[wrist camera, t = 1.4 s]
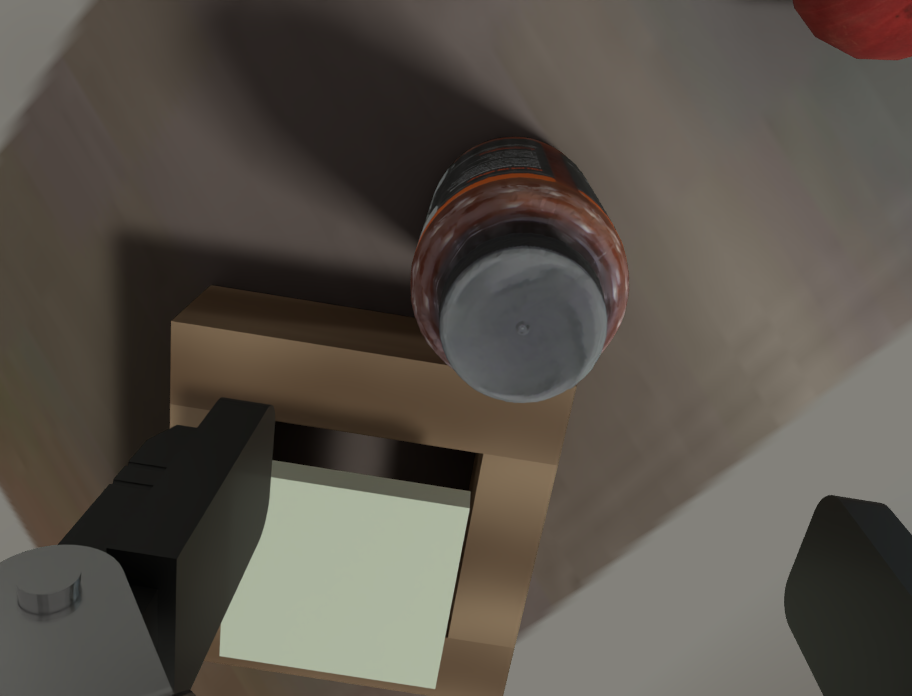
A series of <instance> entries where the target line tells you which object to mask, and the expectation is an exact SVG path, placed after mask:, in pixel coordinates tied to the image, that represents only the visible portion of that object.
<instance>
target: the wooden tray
mask: <svg viewBox="0 0 912 696" xmlns="http://www.w3.org/2000/svg"><path fill="white" fill-rule="evenodd" d="M576 387H577V385H575V386H574V387H573V388H571V389H568V390H566V391H565V392H563V393H561V394H559V395H556V396H554V397H552V398H549V399H546V400H543V401H539V402H529V403H513V402H505V401H503V400H498V399H495V398H492V397H489V396H486V395H484V394H482V393H480V392H478V391H476V390H475V389H473V388H472V387H471V386H469V385H468V384H467V383H466V382H465V381H464V380H462V379H461V378H460V377H459V376H458V375H457V373H456V372H455V371H454V370H453V369H452V368H451V367H450V366H448V365H447V364H446V363H445V362H444V361H443V360H442V359H441V358H440V357H439V356H438V355H437V354H436V353H435V352H434V350H433V349H432V348H431V347H430V346H429V345H428V343H427V342H426V340H425V338H424V336H423V335H422V333H421V332H420V328H419V326H418V324H417V320H416V318H413V317H407V316H401V315H394V314H388V313H382V312H376V311H369V310H363V309H357V308H351V307H345V306H338V305H332V304H326V303H320V302H314V301H307V300H301V299H295V298H289V297H282V296H276V295H270V294H264V293H258V292H251V291H245V290H239V289H233V288H227V287H220V286H214V285H211V286H209V287H208V288H207V289H206V290H205V291H204V292H203V293H202V294H201V295H199V296H198V297H197V298H196V299H195V300H194V301H193V302H192V303H191V304H189V305H188V306H187V307H186V308H185V309H184V310H183V311H182V312H181V313H179V314H178V315H177V316H176V317H175V318H174V319H173V320H172V321H171V372H170V428H171V427H173V426H175V425H183V426H189V427H195V428H197V427H198V426H199V424H200V423H201V422H202V421H203V419H204V418H205V417H206V415H207V414H208V413H209V411H210V410H211V409H212V407H213V406H214V405H215V403H216V402H217V401H218V400H219V399H220V398H221V397H225V398H231V399H238V400H244V401H250V402H256V403H263V404H269V405H273V406H274V409H275V421H280V422H286V423H292V424H299V425H305V426H311V427H318V428H324V429H330V430H337V431H343V432H349V433H355V434H362V435H368V436H374V437H381V438H387V439H393V440H400V441H406V442H412V443H419V444H425V445H431V446H438V447H444V448H450V449H457V450H463V451H469V452H475V459H474V464H473V469H472V475H471V480H470V485H469V491H471V494H470V510H469V515H468V520H467V525H466V531H465V536H464V541H463V546H462V552H461V557H460V562H459V567H458V572H457V578H456V583H455V588H454V593H453V599H452V604H451V609H450V614H449V620H448V625H447V630H446V635H445V640H444V646H443V651H442V656H441V661H440V667H439V672H438V677H437V682H436V687H435V689H431V688H424V687H418V686H411V685H405V684H398V683H392V682H385V681H379V680H372V679H366V678H359V677H353V676H346V675H340V674H333V673H327V672H320V671H314V670H307V669H301V668H294V667H288V666H281V665H275V664H268V663H262V662H255V661H249V660H242V659H236V658H229V657H222V656H219V654H220V632H221V624H220V627H219V629H218V631H217V633H216V635H215V637H214V640H213V642H212V644H211V646H210V648H209V650H208V653H207V655H206V657H205V659H204V661H207V662H213V663H220V664H227V665H233V666H240V667H246V668H253V669H259V670H266V671H272V672H279V673H285V674H292V675H298V676H305V677H311V678H318V679H324V680H331V681H337V682H344V683H350V684H357V685H364V686H370V687H377V688H383V689H390V690H396V691H403V692H409V693H416V694H422V695H429V696H503V694H504V689H505V685H506V681H507V677H508V672H509V668H510V664H511V660H512V656H513V652H514V647H515V643H516V639H517V635H518V631H519V626H520V622H521V618H522V614H523V610H524V605H525V601H526V597H527V593H528V589H529V584H530V580H531V576H532V572H533V568H534V563H535V559H536V555H537V551H538V547H539V542H540V538H541V534H542V530H543V526H544V521H545V517H546V513H547V509H548V505H549V500H550V496H551V492H552V488H553V484H554V479H555V475H556V471H557V467H558V463H559V458H560V454H561V450H562V446H563V441H564V437H565V433H566V429H567V425H568V420H569V416H570V412H571V408H572V404H573V399H574V395H575V391H576Z"/></svg>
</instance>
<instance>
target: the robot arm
mask: <svg viewBox="0 0 912 696" xmlns="http://www.w3.org/2000/svg"><path fill="white" fill-rule="evenodd" d="M274 430H275V409H274V406H273V405H269V404H263V403H256V402H250V401H244V400H238V399H231V398H225V397H221V398H220V399H219V400H218V401H217V402H216V403H215V405H214V406H213V407H212V409H211V410H210V411H209V413H208V414H207V415H206V417H205V418H204V419H203V421H202V422H201V423H200V424H199V426H198V427H197V428H195V427H189V426H183V425H175V426H173V427H171V428H170V429H168V430H166V431H164V432H162V433H160V434H158V435H156V436H154V437H152V438H150V439H149V440H147V441H146V442H145V443H144V444H143V445H142V447H141V448H140V449H139V450H138V451H137V452H136V454H135V455H134V456H133V457H132V458H131V459H130V461H129V464H128V466H125V467H124V468H123V469H122V470H121V471H120V472H119V474H118V475H117V476H116V477H115V478H114V480H113V484H109V485H108V486H107V488H106V489H105V490H104V491H103V492H102V493H101V495H100V496H99V497H98V498H97V499H96V500H95V502H94V503H93V504H92V505H91V506H90V508H89V509H88V510H87V511H86V512H85V513H84V515H83V516H82V517H81V518H80V519H79V520H78V522H77V523H76V524H75V525H74V526H73V527H72V529H71V530H70V531H69V532H68V533H67V534H66V536H65V537H64V538H63V539H62V540H61V541H60V543H59V544H58V545H53V546H46V547H40V548H36V549H32V550H29V551H25V552H22V553H20V554H17V555H15V556H12V557H10V558H8V559H6V560H4V561H2V562H0V696H196V695H195V694H194V693H193V692H192V691H191V690H190V689H191V687H192V685H193V683H194V681H195V678H196V676H197V674H198V672H199V670H200V668H201V665H202V663H203V661H204V659H205V657H206V655H207V653H208V650H209V648H210V646H211V644H212V642H213V640H214V637H215V635H216V633H217V631H218V629H219V627H220V624H221V622H222V620H223V618H224V616H225V614H226V612H227V609H228V607H229V605H230V603H231V601H232V599H233V596H234V594H235V592H236V590H237V588H238V586H239V583H240V581H241V579H242V577H243V575H244V573H245V571H246V568H247V566H248V564H249V562H250V560H251V558H252V555H253V553H254V551H255V549H256V547H257V545H258V542H259V540H260V538H261V535H262V532H263V529H264V525H265V521H266V517H267V512H268V506H269V498H270V485H271V471H272V458H273V444H274ZM784 606H785V614H786V619H787V622H788V625H789V627H790V629H791V631H792V633H793V635H794V637H795V639H796V641H797V643H798V645H799V647H800V649H801V651H802V653H803V655H804V657H805V659H806V661H807V663H808V665H809V667H810V669H811V671H812V673H813V675H814V677H815V679H816V681H817V683H818V685H819V687H820V689H821V692H822V693H823V696H912V535H911V534H910V532H909V531H908V530H907V529H906V528H905V526H904V525H903V524H902V523H901V522H900V521H899V519H898V518H897V517H896V516H895V514H894V513H893V512H892V511H891V510H890V509H889V508H888V507H887V506H886V505H885V504H882V503H877V502H871V501H865V500H859V499H852V498H846V497H840V496H833V495H828V496H826V497H824V498H823V499H822V500H821V501H820V502H819V504H818V505H817V507H816V509H815V511H814V514H813V516H812V519H811V522H810V524H809V526H808V529H807V532H806V534H805V537H804V539H803V542H802V544H801V547H800V549H799V552H798V554H797V557H796V559H795V562H794V565H793V567H792V569H791V572H790V575H789V577H788V580H787V583H786V588H785V596H784Z"/></svg>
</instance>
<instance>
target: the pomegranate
mask: <svg viewBox="0 0 912 696" xmlns="http://www.w3.org/2000/svg"><path fill="white" fill-rule="evenodd" d="M793 4H794V8H795V9H796V11H797V12H798V14H799V15H800V16H801V18H802V19H803V21H804V22H805V23H806V25H807V26H808V28H809V29H810V30H811V32H812V33H813V34H814V36H815V37H817V38H819V39H820V40H822V41H824V42H826V43H828V44H830V45H832V46H834V47H835V48H837V49H839V50H841V51H843V52H845V53H847V54H849V55H850V56H852V57H854V58H856V59H878V60H900V59H904V58H907V57H911V56H912V0H793Z"/></svg>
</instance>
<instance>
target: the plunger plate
mask: <svg viewBox="0 0 912 696" xmlns="http://www.w3.org/2000/svg"><path fill="white" fill-rule="evenodd" d="M470 494H471V491H465V490H459V489H453V488H446V487H440V486H434V485H427V484H421V483H415V482H408V481H402V480H396V479H389V478H383V477H376V476H370V475H364V474H357V473H351V472H345V471H338V470H332V469H326V468H319V467H313V466H307V465H300V464H294V463H288V462H281V461H275V460H272V471H271V485H270V498H269V506H268V512H267V517H266V521H265V525H264V529H263V532H262V535H261V538H260V540H259V542H258V545H257V547H256V549H255V551H254V553H253V555H252V558H251V560H250V562H249V564H248V566H247V568H246V571H245V573H244V575H243V577H242V579H241V581H240V583H239V586H238V588H237V590H236V592H235V594H234V596H233V599H232V601H231V603H230V605H229V607H228V609H227V612H226V614H225V616H224V618H223V620H222V622H221V632H220V654H219V656H222V657H229V658H236V659H242V660H249V661H255V662H262V663H268V664H275V665H281V666H288V667H294V668H301V669H307V670H314V671H320V672H327V673H333V674H340V675H346V676H353V677H359V678H366V679H372V680H379V681H385V682H392V683H398V684H405V685H411V686H418V687H424V688H431V689H435V687H436V682H437V677H438V672H439V667H440V661H441V656H442V651H443V646H444V640H445V635H446V630H447V625H448V620H449V614H450V609H451V604H452V599H453V593H454V588H455V583H456V578H457V572H458V567H459V562H460V557H461V552H462V546H463V541H464V536H465V531H466V525H467V520H468V515H469V510H470Z"/></svg>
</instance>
